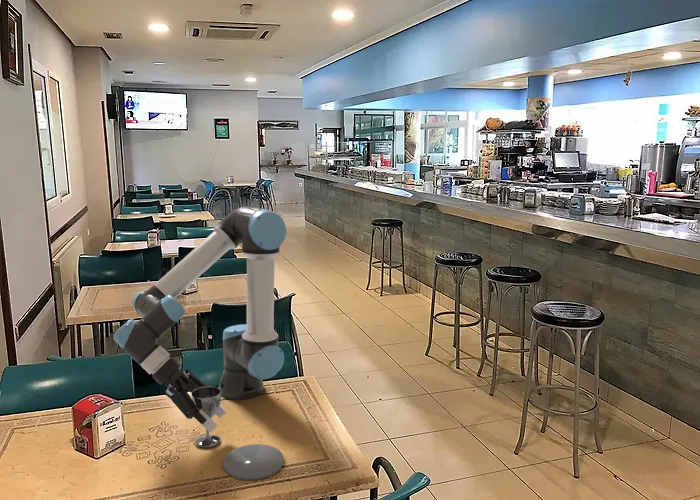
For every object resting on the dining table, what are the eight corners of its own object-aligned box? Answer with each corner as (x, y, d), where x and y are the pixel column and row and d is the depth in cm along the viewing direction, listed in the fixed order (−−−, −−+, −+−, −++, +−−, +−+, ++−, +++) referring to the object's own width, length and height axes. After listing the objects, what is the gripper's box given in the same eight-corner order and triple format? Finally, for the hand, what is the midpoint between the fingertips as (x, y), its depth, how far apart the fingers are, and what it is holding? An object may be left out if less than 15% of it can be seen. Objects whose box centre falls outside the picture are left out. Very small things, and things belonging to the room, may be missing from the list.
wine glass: (214, 449, 162) (213, 399, 159) (188, 446, 163) (186, 396, 160) (226, 435, 169) (225, 387, 167) (201, 432, 171) (199, 384, 168)
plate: (239, 443, 166) (239, 440, 166) (292, 452, 162) (292, 449, 162) (212, 474, 151) (212, 470, 151) (269, 484, 147) (269, 481, 147)
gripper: (166, 360, 174) (220, 413, 176) (136, 389, 154) (197, 448, 156) (183, 344, 172) (237, 397, 174) (154, 372, 152) (216, 431, 154)
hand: (218, 421), depth 165 cm, fingers closed on wine glass, 8 cm apart
